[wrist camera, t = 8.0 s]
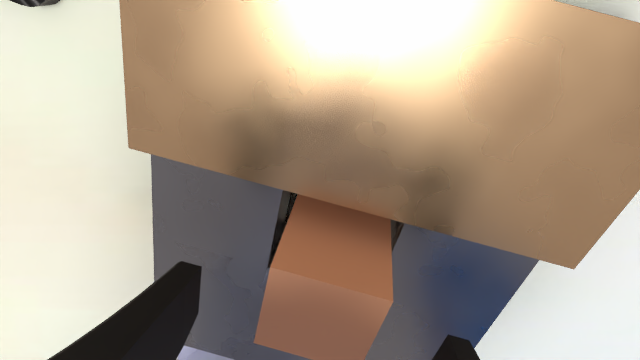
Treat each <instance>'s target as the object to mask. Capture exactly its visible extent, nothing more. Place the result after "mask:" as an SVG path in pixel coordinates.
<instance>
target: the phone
mask: <svg viewBox="0 0 640 360" xmlns="http://www.w3.org/2000/svg"><path fill="white" fill-rule="evenodd" d="M10 1H13V2H15V3H18V4H20V5H24V6H29V7H35V6H45V5H51V4H56V3H57V2H58V1H60V0H10Z"/></svg>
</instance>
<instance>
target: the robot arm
mask: <svg viewBox="0 0 640 360" xmlns="http://www.w3.org/2000/svg"><path fill="white" fill-rule="evenodd" d="M201 271H202V266H198V265H195V264H191V263H187V262H184V261H180V262H178V263H177V264H175V265H174V266H173V267H172V268H171V269H170V270H168V271H167V272H166V273H165V274H164V275H162V276H161V277H160V278H159V279H158V280H157V281H155V282H154V283H153V284H152V285H150V286H149V287H148V288H147V289H145V290H144V291H143V292H142V293H141V294H139V295H138V296H137V297H135V298H134V299H133V300H132V301H130V302H129V303H128V304H126V305H125V306H124V307H122V308H121V309H120V310H118V311H117V312H116V313H115V314H113V315H112V316H111V317H109V318H108V319H106V320H105V321H104V322H102V323H101V324H99V325H98V326H97V327H95V328H94V329H92V330H91V331H89V332H88V333H87V334H85V335H84V336H82V337H81V338H79V339H78V340H77V341H75V342H74V343H72V344H71V345H69V346H68V347H66V348H65V349H63V350H62V351H60V352H59V353H57V354H56V355H54V356H52V357H51V358H49V359H48V360H176V359H177V357H178V360H234V359H230V358H227V357H223V356H220V355H216V354H212V353H209V352H205V351H202V350H198V349H195V348H191V347H188V346H184V344H185V342H186V340H187V338H188V335H189V333H190V331H191V329H192V327H193V324H194V322H195V320H196V318H197V315H198V312H199V299H200V285H201ZM432 360H480V359H479V357H478V355H477V353H476V351H475V350H474V348H473V346H472V344H471V342H470V341H469V340H467V339H463V338H460V337H456V336H452V335H449V334H448V335H447V337H446V338H445V340H444V341H443V343H442V345H441V346H440V348H439V349H438V351H437V352H436V354H435V355H434V357H433V359H432Z"/></svg>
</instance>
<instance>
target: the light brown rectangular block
mask: <svg viewBox="0 0 640 360" xmlns="http://www.w3.org/2000/svg"><path fill="white" fill-rule="evenodd" d="M392 303H393V278H392V247H391V219H388V218H384V217H380V216H377V215H373V214H369V213H366V212H362V211H358V210H355V209H351V208H347V207H344V206H340V205H336V204H333V203H329V202H325V201H322V200H318V199H314V198H311V197H307V196H303V195H300V194H298V195H297V197H296V200H295V203H294V205H293V208H292V211H291V213H290V216H289V219H288V221H287V224H286V227H285V229H284V232H283V235H282V237H281V240H280V242H279V245H278V248H277V250H276V253H275V256H274V258H273V261H272V264H271V266H270V270H269V275H268V279H267V284H266V289H265V293H264V298H263V302H262V307H261V311H260V316H259V321H258V325H257V330H256V334H255V339H254V343H255V344H259V345H262V346H266V347H269V348H273V349H276V350H280V351H284V352H287V353H291V354H294V355H298V356H301V357H305V358H308V359H312V360H364V359H365V357H366V355H367V353H368V351H369V349H370V347H371V345H372V343H373V341H374V339H375V337H376V335H377V333H378V331H379V329H380V327H381V325H382V323H383V321H384V319H385V317H386V315H387V313H388V311H389V309H390V307H391V305H392Z"/></svg>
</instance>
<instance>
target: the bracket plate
mask: <svg viewBox="0 0 640 360" xmlns="http://www.w3.org/2000/svg"><path fill="white" fill-rule="evenodd" d="M119 1H120V17H121V33H122V49H123V65H124V81H125V97H126V114H127V130H128V146H129V148H131V149H134V150H138V151H142V152H145V153H149V154H151V167H152V206H153V245H154V282H155V281H157V280H158V279H159V278H160V277H161V276H162V275H164V274H165V273H166V272H167V271H168V270H170V269H171V268H172V267H173V266H174V265H175V264H177V263H178V262H180V261H184V262H187V263H191V264H195V265H198V266H202V271H201V285H200V299H199V312H198V315H197V318H196V320H195V322H194V324H193V327H192V329H191V331H190V333H189V335H188V338H187V340H186V342H185V344H184V346H188V347H191V348H195V349H198V350H202V351H205V352H209V353H212V354H216V355H220V356H223V357H227V358H230V359H234V360H312V359H308V358H305V357H301V356H298V355H294V354H291V353H287V352H284V351H280V350H276V349H273V348H269V347H266V346H262V345H259V344H255V343H254V339H255V334H256V330H257V325H258V321H259V316H260V311H261V307H262V302H263V298H264V293H265V289H266V284H267V279H268V275H269V270H270V266H271V264H272V261H273V258H274V256H275V253H276V250H277V248H278V245H279V242H280V240H281V237H282V235H283V232H284V229H285V227H286V224H285V218H286V213H287V209H288V204H289V200H290V195H291V192H292V193H296V194H300V195H303V196H307V197H311V198H314V199H318V200H322V201H325V202H329V203H333V204H336V205H340V206H344V207H347V208H351V209H355V210H358V211H362V212H366V213H369V214H373V215H377V216H380V217H384V218H388V219H391V247H392V278H393V303H392V305H391V307H390V309H389V311H388V313H387V315H386V317H385V319H384V321H383V323H382V325H381V327H380V329H379V331H378V333H377V335H376V337H375V339H374V341H373V343H372V345H371V347H370V349H369V351H368V353H367V355H366V357H365V359H364V360H432V359H433V357H434V355H435V354H436V352H437V351H438V349H439V348H440V346H441V345H442V343H443V341H444V340H445V338H446V337H447V335H448V334H449V335H452V336H456V337H460V338H463V339H467V340H469V341H470V342H471V344H472V346H473V348H475V347H476V345H477V344H478V342H479V341H480V340H481V338H482V337H483V336H484V334H485V333H486V332H487V330H488V329H489V328H490V326H491V325H492V323H493V322H494V321H495V319H496V318H497V317H498V315H499V314H500V313H501V311H502V310H503V309H504V307H505V306H506V304H507V303H508V302H509V300H510V299H511V298H512V296H513V295H514V294H515V292H516V291H517V290H518V288H519V287H520V286H521V284H522V283H523V281H524V280H525V279H526V277H527V276H528V275H529V273H530V272H531V271H532V269H533V268H534V267H535V265H536V264H537V262H538V261H539V260H542V261H546V262H549V263H553V264H557V265H560V266H564V267H568V268H571V269H575V267H576V266H577V265H578V264H579V263H580V261H581V260H582V259H583V258H584V257H585V255H586V254H587V253H588V252H589V250H590V249H591V248H592V247H593V246H594V244H595V243H596V242H597V241H598V239H599V238H600V237H601V236H602V235H603V233H604V232H605V231H606V230H607V229H608V227H609V226H610V225H611V224H612V222H613V221H614V220H615V219H616V218H617V216H618V215H619V214H620V213H621V211H622V210H623V209H624V208H625V207H626V205H627V204H628V203H629V202H630V201H631V199H632V198H633V197H634V196H635V194H636V193H637V192H638V191H639V190H640V23H638V22H634V21H630V20H626V19H623V18H619V17H615V16H611V15H607V14H603V13H600V12H596V11H592V10H588V9H584V8H580V7H577V6H573V5H569V4H565V3H561V2H557V1H554V0H119Z"/></svg>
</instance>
